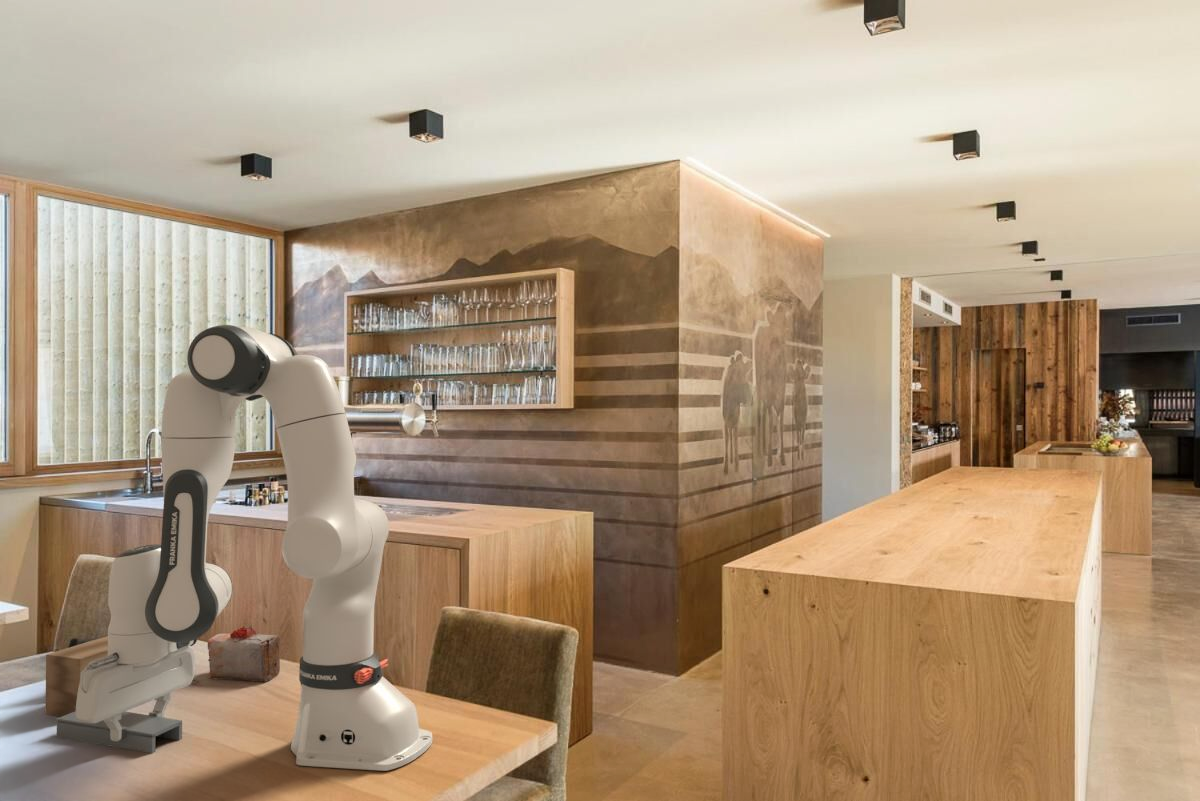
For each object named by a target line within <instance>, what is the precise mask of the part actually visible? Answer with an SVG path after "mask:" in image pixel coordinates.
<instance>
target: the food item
mask: <svg viewBox="0 0 1200 801" xmlns="http://www.w3.org/2000/svg"><path fill="white" fill-rule="evenodd" d="M207 650H208V664H209V665H208V666H209V667H208V668H209V679H213V678H217V679H218V680H219V679H220V680H223V679H224V680H235V679H240V681H250V680H255V681H254V682H263V681H265V682H268V681H269V680H272V679H273V678H275V677H277V676H278V675H279V674H280V672H281V663H280V662H281V661H280V659H281V637H280V636H279V635H275V634H274V635H273V634H261V633H260V634H259V633H257V632H256V630H255V629H253V625H252V624H251V625H249V627H247V628H246V627H245V626H243V627H240V628H238V629H235V630H233V632H231V633H230V632H229V633H225V632H224V633H219V634H218V633H217V634H216V635H214V636H212V637H211V638H209V639H207ZM276 675H277V676H276ZM217 679H216V680H217Z"/></svg>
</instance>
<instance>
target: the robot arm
mask: <svg viewBox="0 0 1200 801" xmlns="http://www.w3.org/2000/svg"><path fill="white" fill-rule="evenodd" d="M186 356H187V357H186V358H187V365H188V366H187V367H188V369H189V370H186V371H183V372H180V373H178V374H177V375H174V377H172V378H171V380H170V381H169V383H168V386H167V390H166V394H165V398H164V403H163V405H164V406H163V412H162V420H161V435H160V436H161V440H160V441H161V444H160V445H161V447H160V449H161V466H162V467H161V469H162V485H163V486H162V488H163V490H162V493H163V509H162V521H161V522H162V523H161V524H162V526H161V538H160V542H161V543H160V544H157V543H156V544H148V545H143V546H142V545H141V546H137V547H135V548H131V549H126V551H124V552H121V553H120V554H118V555H117V556H116V557H115V558H114V559H113V561H112V564H111V568H110V573H109V579H108V580H109V581H108V594H107V595H108V596H107V597H108V598H107V601H108V602H107V604H108V609H109V611H110V620H109V625H108V628H107V635H108V656H106V657H103V658H101V659H99V660H98V659H97V660H93V661H91V662H90V663H89V664H88V666H86V667H85V669H84V670H83V671H82V672H81V675H80V684H79V688H78V694H77V701H76V717H77V718H78V719H79V720H80V721H82V722H86V723H98V722H100V721H103V720H104V722H105V723H106V725H107V726H108V728H109V729H110V739H111V740H112V741H119V740H121V739H124V738H126V735H127V734H126V731H127V727H121V725H120V723H119V721H118V720H120V719H121V713H122V712H128V711H129V710H131V709H134V708H136V707H139V706H141V705H144V704H146V703H149V702H152V701H153V700H154V701H155V700H156V701H155V703H154V706H153V710H152V711H150V712H148V715H150V716H156V717H163V718H165V711H166V709H167V707H168V705H169V702H170V701H171V693H174V692H176V691H179V690H181V689H184V688H185V687H188V686H190V685H191V684H192V682H193V680H194V678H195V672H196V671H195V667H196V666H195V660H196V659H195V651H194V649H193V646H190V645H192V644H193V642H194V640H195V639H197V640H198V639H199V638H201V637H203V636H204V635H205V634H206V633H207V632H208V631H209V630H210V629H211V627H212V625H213V624H214V623H215V620H216V619H217V618H218V617H219V615H220V614H221V613H222V611H223V610H224V609H225V608H226V606H228V603H229V602H230V601H231V597H232V595H233V583H232V579H231V577H230V574H228V573H227V571H226V570H225V569H224V568H223V567H221V566H219V565H217V564H215V563H211V562H207V561H206V558H207V537H208V524H209V523H208V521H209V517H210V513H211V509H212V508H213V505H214V502H215V500H216V498H217V497H218V495H219V494H220V492H221V490H222V489H223V487H224V486H225V485H226V483H227V481H228V480H229V479H230V476H231V473H232V470H233V469H232V468H233V465H234V459H235V451H236V437H235V436H236V413H237V409H238V408H239V405H240V404H241V403H242V402H243V401H244V400H246V401H249V402H251V401H256V400H259V399H261V398H264V399H266V400H265V401H266V402H268V405H269V407H270V409H271V412H272V415H273V421H274V424H275V430H276V434H277V437H278V441H279V445H280V450H281V455H282V459H283V464H284V468H285V473H286V474H285V475H286V480H287V482H286V483H287V524H286V529H285V532H284V534H283V537H282V541H281V554H282V557H283V560H284V562H285V564H286V566H287V568H289V570H291V571H292V572H293V573H294V574H295V575H298V577H302V578H304V579H309V580H310V579H313V580H312V583H311V588H310V591H309V595H308V598H307V600H306V602H305V604H304V608H303V611H302V655H301V657H300V658H299V671H298V672H299V677H298V678H299V679H298V680H299V683H300V686H301V687H300V689H301V691H300V700H299V701H300V702H299V708H298V715H297V722H296V725H295V729H294V735H293V738H292V742H291V744H290V750H291V751H292V753H293V754H294V755H295V756H296V757H295V763H296V765H297V766H301V767H302V766H305V767H318V768H335V769H351V770H363V771H364V770H365V771H367V770H368V771H382V772H383V771H385V772H386V771H390V770H394V769H398V768H400V767H402V766H404V765H407V764H409V763H411V762H412V761H414V760H416V759H417V758H419V757H420V756H421V755H423V754H424V753H425V752H426V751H428V749H429V748H430V747H431V745H432V743H433V741H434V740H433V733H432V731H429V730H427V729H423V728H420V726H419V717H418V712H417V708H416V706H415V704H414V703H413V701H411V700H410V699H409V698H408V697H407V696H406V695H405V694H403V693H402V692H401V691H400V690H398V689H397V687H395V685H393V684H392V683H391V682H390V681H388V680H387V679H386V678H385V677H384V672H383V670H382V669H384V668H385V667H387V666H388V665H389V664H388V663H387V662H388V661H389V658H385V659H384V660H381V661H379V658H378V656H377V653H376V651H375V650H374V641H375V640H374V636H375V634H374V633H375V632H374V630H375V606H376V605H375V604H376V596H377V591H378V590H377V589H378V584H379V579H380V572H381V568H382V562H383V555H384V548H385V545H386V542H387V539H388V536H389V533H390V523H389V520H388V516H387V514H386V512H385V511H384V510H383V509H382V508H381V507H380V506H379V505H378V504H376V503H374V502H372V501H369V500H364V499H359V498H355V469H356V466H357V454H356V451H355V446H354V443H353V442H354V441H353V438H352V434H351V429H350V427H349V426H350V425H349V422H348V418H347V413H346V409H345V406H344V402H343V399H342V397H341V394H340V390H339V388H338V385H337V382H336V380H335V378H334V376H333V375H334V374H333V373H332V371H331V369H330V367H329V365H328V364H327V362H326V361H324V360H323V359H322V358H320V357H318V356H315V355H311V354H298V352H297V351H296V349H295V348H294V347H293V345H292V344H291V343H290V342H289V341H288V340H286V339H285V338H283V337H282V336H280V335H278V334H274V333H270V332H265V331H262V330H260V329H257V328H254V327H249V326H235V325H231V324H222V325H216V326H211V327H209V328H206V329H204V330H202V331H201V332H200V333H198V334H197V335H196V336H195V337H194V338H193V340H192V341H191V343H190V345H189V347H188V351H187V355H186ZM88 668H90V669H88Z"/></svg>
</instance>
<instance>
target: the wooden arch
mask: <svg viewBox="0 0 1200 801" xmlns="http://www.w3.org/2000/svg"><path fill="white" fill-rule="evenodd" d="M105 636H106V637H103V636H102V637H103V638H99V637H98V638H99V639H96V640H93V641H89V642H86V643H83V644H79V645H76V646H73V647H69V648H68V647H67V648H63V649H59V650H57V651H54V652H50V653H46V654H45V711H44V712H45V715H49V716H56V717H62V716H65V715H67V714H70V713H72V712H75V711H76V701H77V694H78V688H79V684H80V675H81V672H82V671H83V670H84V669H85V667H86V666H88V664H89V663H90V662H91V661H93V660H97V659H98V660H99V659H101V658H103V657H106V656H108V636H107V635H105Z"/></svg>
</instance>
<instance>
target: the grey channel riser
mask: <svg viewBox="0 0 1200 801" xmlns="http://www.w3.org/2000/svg"><path fill="white" fill-rule="evenodd" d="M118 721H119V723H120V725H121V727H127V731H126V734H127V735H126V738H124V739H121V740H119V741H112V740H111V739H110V729H109V728H108V726H107V725H106V723H105V722H104V720H103V721H100V722H98V723H86V722H82V721H80V720H79V719H78V718H77V717H76V711H75V712H72V713H70V714H67V715H65V716H62V717H61V716H58V717H57V718H56V738H62V739H69V740H73V741H74V740H75V741H80V742H86V743H89V744H90V743H91V744H97V745H103V746H108V747H109V746H110V747H113V748H120V749H124V750H125V749H127V750H130V751H138V752H141V753H142V752H143V753H148V752H149V754H153V752H154V753H156V737H158V738H165V739H171V740H175V739H176V741H180V739H181V740H182V739H183V720H182V719H177V718H176V719H175V718H170V717H169V718H167V717H164V718H163V717H156V716H150V715H149V714H142V713H137V712H130V711H125V712H122V713H121V719H120V720H118Z"/></svg>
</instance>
